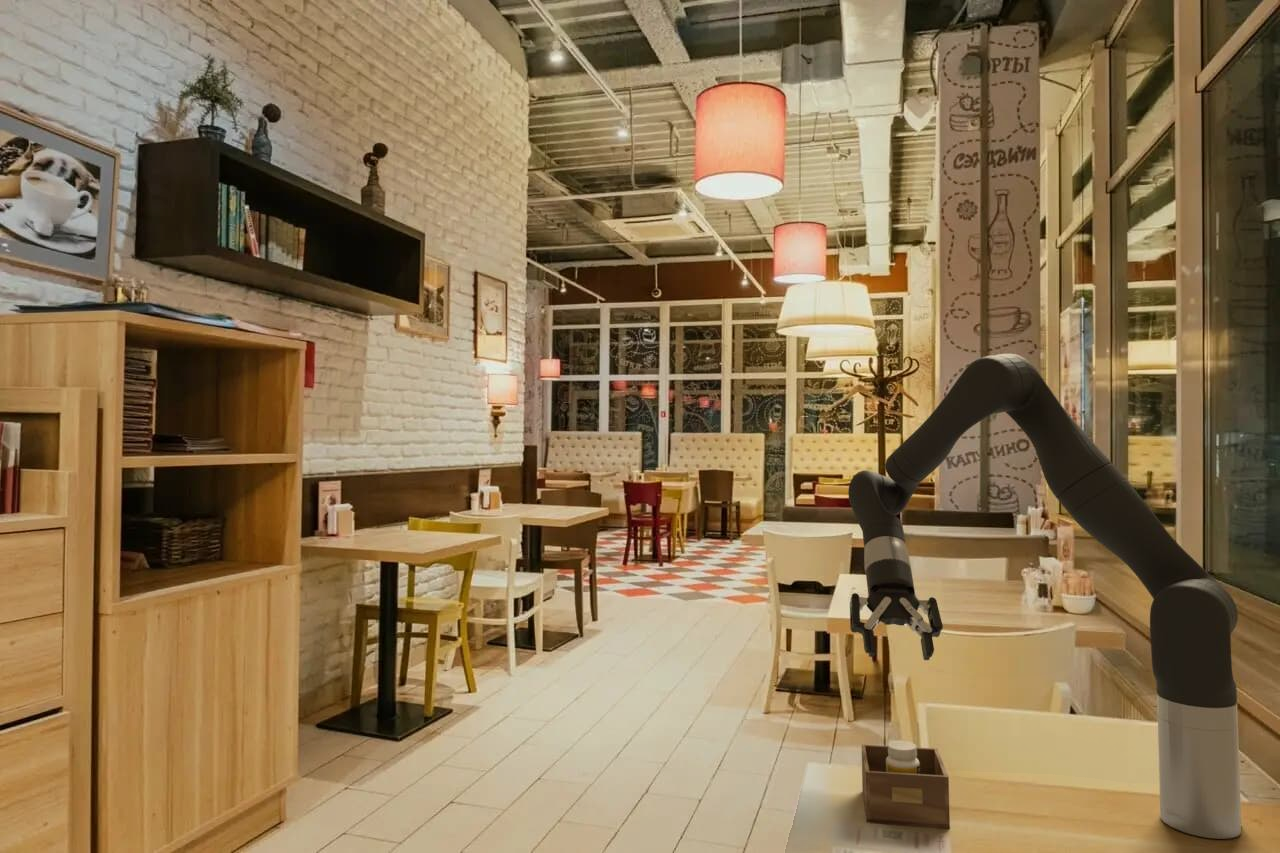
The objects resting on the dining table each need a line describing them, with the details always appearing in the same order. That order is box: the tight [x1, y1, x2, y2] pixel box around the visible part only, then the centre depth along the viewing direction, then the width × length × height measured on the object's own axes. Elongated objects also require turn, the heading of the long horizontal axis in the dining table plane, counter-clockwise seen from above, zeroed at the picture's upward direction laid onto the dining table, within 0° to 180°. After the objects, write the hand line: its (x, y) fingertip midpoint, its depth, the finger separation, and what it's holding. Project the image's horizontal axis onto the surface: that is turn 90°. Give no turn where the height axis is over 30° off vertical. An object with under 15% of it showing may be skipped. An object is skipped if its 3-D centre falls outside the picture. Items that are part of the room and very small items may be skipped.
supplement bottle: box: [886, 740, 920, 774], centre depth 123 cm, size 5×5×8 cm
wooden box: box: [861, 744, 951, 829], centre depth 122 cm, size 11×11×7 cm
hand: (900, 656), depth 134 cm, fingers open, 8 cm apart
